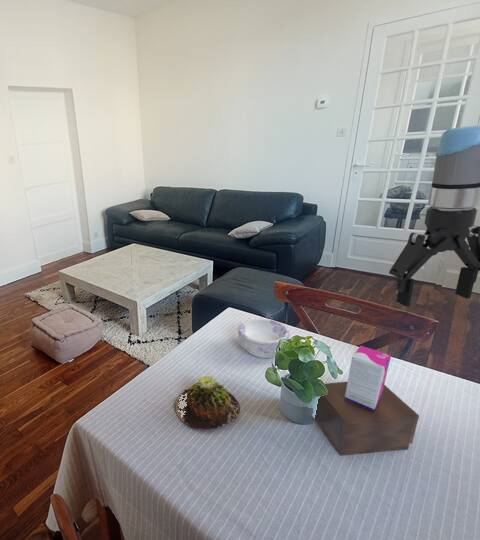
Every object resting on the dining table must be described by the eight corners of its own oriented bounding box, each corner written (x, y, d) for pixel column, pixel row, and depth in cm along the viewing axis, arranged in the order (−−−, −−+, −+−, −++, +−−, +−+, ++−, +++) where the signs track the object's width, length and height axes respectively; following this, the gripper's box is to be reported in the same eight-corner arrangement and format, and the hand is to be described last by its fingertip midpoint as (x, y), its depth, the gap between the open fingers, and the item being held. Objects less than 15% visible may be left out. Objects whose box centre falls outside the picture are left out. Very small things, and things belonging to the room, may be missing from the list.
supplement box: (375, 412, 71) (383, 367, 67) (343, 398, 76) (349, 356, 72) (383, 397, 75) (391, 354, 71) (352, 385, 79) (358, 344, 75)
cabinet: (370, 410, 84) (376, 378, 80) (408, 449, 73) (416, 414, 70) (311, 415, 84) (314, 384, 81) (340, 455, 73) (345, 421, 70)
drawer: (382, 407, 83) (387, 382, 80) (417, 442, 73) (425, 414, 70) (322, 413, 83) (325, 388, 81) (349, 449, 73) (354, 421, 71)
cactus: (212, 380, 100) (211, 352, 97) (253, 413, 87) (254, 383, 83) (163, 403, 94) (161, 374, 90) (200, 443, 80) (199, 411, 77)
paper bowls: (229, 343, 117) (229, 323, 114) (268, 333, 120) (268, 314, 117) (256, 369, 103) (257, 346, 100) (299, 357, 106) (301, 335, 103)
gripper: (492, 196, 73) (470, 286, 80) (377, 212, 73) (366, 300, 80) (534, 201, 66) (505, 299, 73) (406, 218, 66) (391, 314, 73)
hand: (432, 300), depth 76 cm, fingers open, 13 cm apart
